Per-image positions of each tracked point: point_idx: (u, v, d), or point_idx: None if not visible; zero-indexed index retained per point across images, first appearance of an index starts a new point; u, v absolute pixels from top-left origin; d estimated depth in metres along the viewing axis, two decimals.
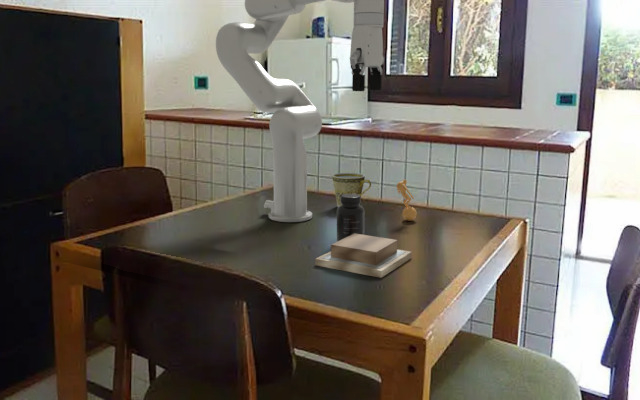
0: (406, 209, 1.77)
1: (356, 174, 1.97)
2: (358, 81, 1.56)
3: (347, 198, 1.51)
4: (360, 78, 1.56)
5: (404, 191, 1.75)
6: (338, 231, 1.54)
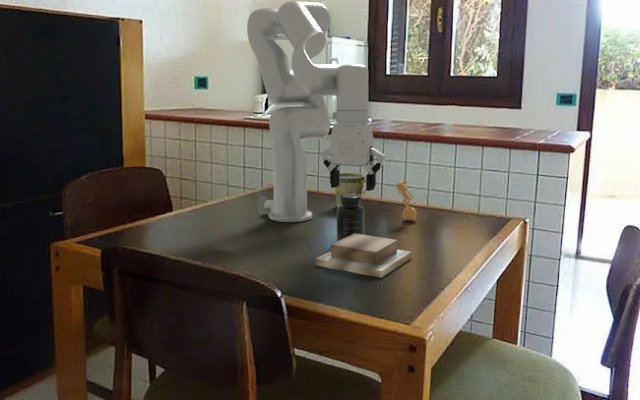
0: (406, 209, 1.77)
1: (356, 174, 1.97)
2: (375, 180, 1.50)
3: (347, 198, 1.51)
4: None
5: (404, 191, 1.75)
6: (338, 231, 1.54)
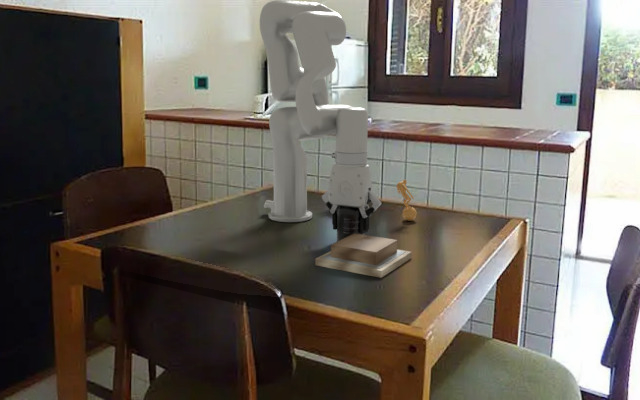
0: (406, 209, 1.77)
1: None
2: (368, 223, 1.53)
3: None
4: None
5: (404, 191, 1.75)
6: (338, 231, 1.54)
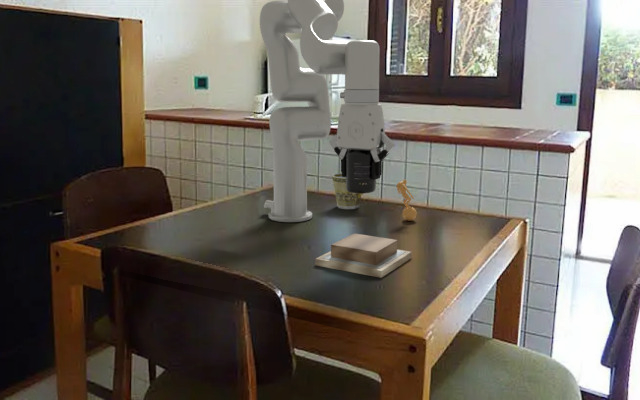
0: (406, 209, 1.77)
1: None
2: (381, 168, 1.40)
3: None
4: None
5: (404, 191, 1.75)
6: (348, 177, 1.41)
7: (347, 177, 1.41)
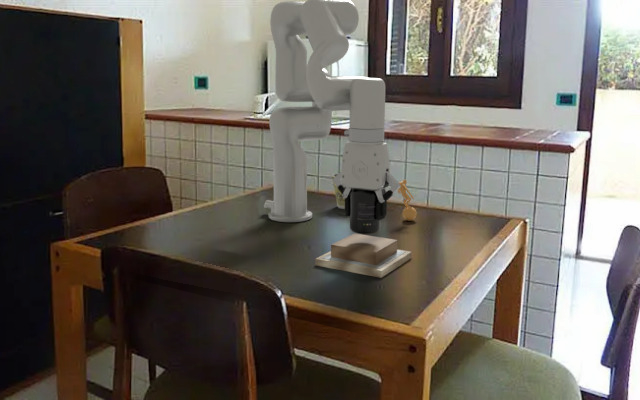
0: (406, 209, 1.77)
1: None
2: (385, 208, 1.36)
3: None
4: None
5: (404, 191, 1.75)
6: (352, 217, 1.37)
7: (351, 217, 1.38)
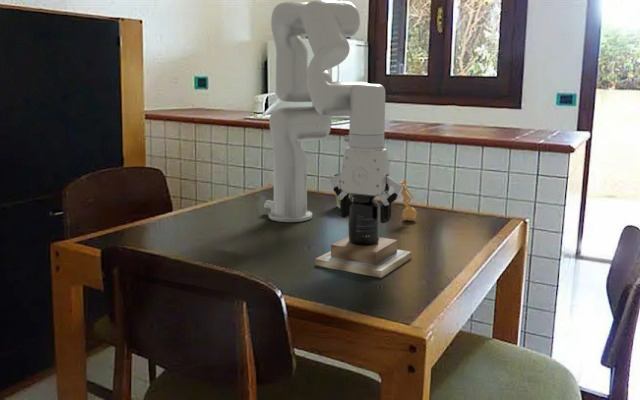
0: (406, 209, 1.77)
1: None
2: (390, 211, 1.36)
3: None
4: None
5: (404, 191, 1.75)
6: (350, 229, 1.38)
7: (350, 228, 1.38)
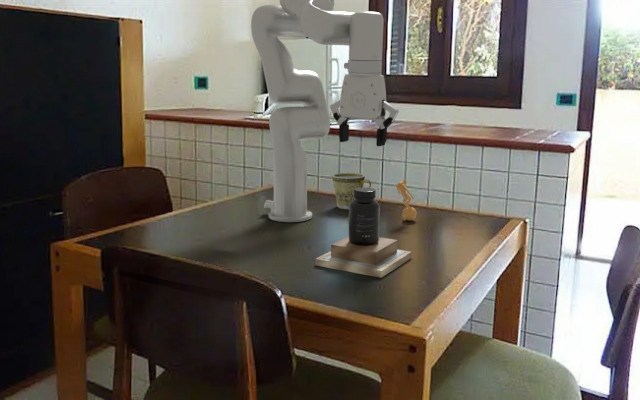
0: (406, 209, 1.77)
1: (356, 174, 1.97)
2: (386, 135, 1.43)
3: (361, 192, 1.36)
4: None
5: (404, 191, 1.75)
6: (350, 229, 1.38)
7: (350, 228, 1.38)
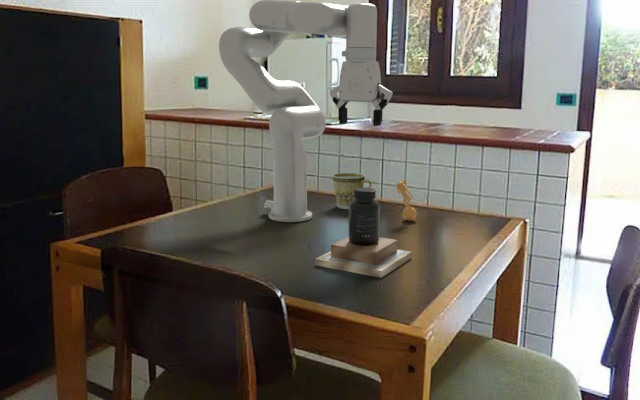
0: (406, 209, 1.77)
1: (356, 174, 1.97)
2: (381, 116, 1.57)
3: (361, 192, 1.36)
4: None
5: (404, 191, 1.75)
6: (350, 229, 1.38)
7: (350, 228, 1.38)
